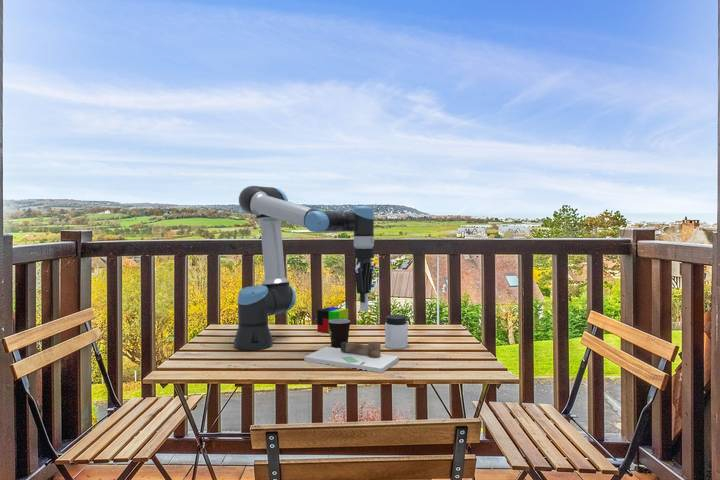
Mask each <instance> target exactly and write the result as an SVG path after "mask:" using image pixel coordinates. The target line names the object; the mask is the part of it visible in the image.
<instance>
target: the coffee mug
mask: <svg viewBox="0 0 720 480" xmlns="http://www.w3.org/2000/svg"><path fill="white" fill-rule="evenodd" d="M350 326H351V320H349V319H348V320H346V319H333V320H329V330H330V334H329V337H330V345H331V346H330V347H332V348H339V349H341V343H342V342H349V336H350V334H349V333H350Z"/></svg>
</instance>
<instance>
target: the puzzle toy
mask: <svg viewBox="0 0 720 480" xmlns="http://www.w3.org/2000/svg"><path fill="white" fill-rule="evenodd" d="M316 312H317V313H316V315H317V316H316V317H317V319H316V323H317V326H316V327H317V329H316V330H317V332H318V333H322V334H329V335H330V330H329V320H333V319H346V320H349V309H348V308H342V307H336V306H335V307H334V306H329V307H325V308H320V309H317V311H316Z"/></svg>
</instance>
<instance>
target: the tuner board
mask: <svg viewBox="0 0 720 480" xmlns="http://www.w3.org/2000/svg"><path fill="white" fill-rule="evenodd" d="M303 359H304V362H310V363H314V364H320V363H321V364H322V365H327V364H329V365H328V366H333V365H337V366H336V367H339V366H344V367H343V368H346V367H350V368H349V369H352V368H357V369H356V370H359V369H362V370H361V371H365V370H367V371H366V372H371V371H373V372H372V373H378V372H379V373H378V374H383V373H384V372H385V371H387V370H388V369H390V368H391V367H392V366H394V365H395V364H396V363H398V362H399V361H400V356H396V355H390V354H383V353H380V357H369V356H368V355H365V354H357V353H350V352H342V351H341V348H333V347H332V346H324V347H323V348H320V349H317V350H316V351H314V352H312V353H310V354H307V355H305V356H304V358H303Z"/></svg>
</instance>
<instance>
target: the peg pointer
mask: <svg viewBox="0 0 720 480" xmlns="http://www.w3.org/2000/svg"><path fill="white" fill-rule="evenodd" d="M340 349H341V351H342V352H350V353H357V354H365V355H368V356H369V357H380V354H381V342H380V341H379V342H378V341H369V342H368V343H367V344H365V343H364V344H363V343H355V342H349V341H348V342H342V343H341V348H340Z"/></svg>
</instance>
